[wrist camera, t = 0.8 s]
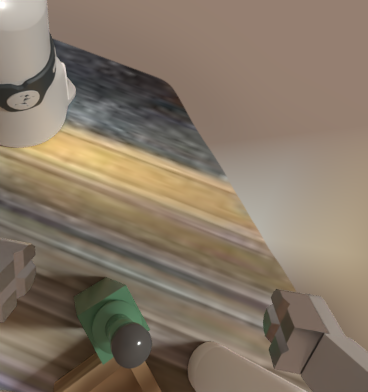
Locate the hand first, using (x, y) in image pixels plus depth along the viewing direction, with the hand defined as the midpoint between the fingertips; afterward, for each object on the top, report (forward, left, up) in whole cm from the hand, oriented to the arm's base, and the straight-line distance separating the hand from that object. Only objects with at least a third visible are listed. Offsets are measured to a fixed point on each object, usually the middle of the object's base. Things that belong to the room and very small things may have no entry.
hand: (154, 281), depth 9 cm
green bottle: (+6, -1, -36) cm, 37 cm away
